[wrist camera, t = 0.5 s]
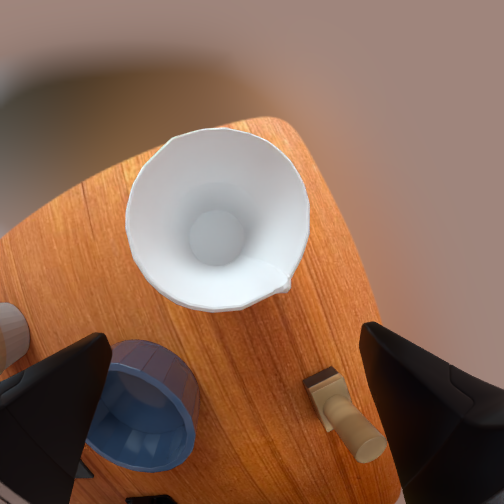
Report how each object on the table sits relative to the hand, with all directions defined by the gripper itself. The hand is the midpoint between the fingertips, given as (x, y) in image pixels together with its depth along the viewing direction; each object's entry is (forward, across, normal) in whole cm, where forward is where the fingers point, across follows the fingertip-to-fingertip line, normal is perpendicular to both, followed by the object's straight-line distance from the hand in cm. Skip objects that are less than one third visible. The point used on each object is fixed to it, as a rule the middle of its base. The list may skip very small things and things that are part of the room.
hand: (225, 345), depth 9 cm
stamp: (+10, -6, +15) cm, 19 cm away
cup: (+14, +2, 0) cm, 14 cm away
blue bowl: (+8, +10, +12) cm, 18 cm away
